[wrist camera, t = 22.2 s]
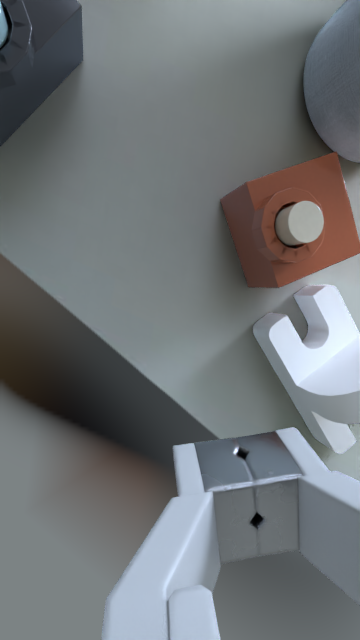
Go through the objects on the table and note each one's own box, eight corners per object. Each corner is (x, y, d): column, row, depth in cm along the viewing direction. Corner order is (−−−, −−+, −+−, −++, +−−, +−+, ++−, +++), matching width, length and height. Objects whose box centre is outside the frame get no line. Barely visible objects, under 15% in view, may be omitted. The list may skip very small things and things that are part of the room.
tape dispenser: (311, 281, 39) (391, 279, 29) (372, 397, 43) (461, 432, 33) (249, 327, 38) (309, 342, 27) (317, 443, 42) (392, 495, 31)
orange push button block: (241, 290, 37) (280, 291, 29) (211, 202, 35) (245, 178, 27) (321, 257, 39) (377, 250, 32) (297, 172, 37) (351, 143, 30)
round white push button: (281, 251, 29) (295, 248, 27) (270, 213, 29) (283, 208, 27) (312, 238, 30) (328, 235, 28) (302, 201, 29) (317, 195, 28)
